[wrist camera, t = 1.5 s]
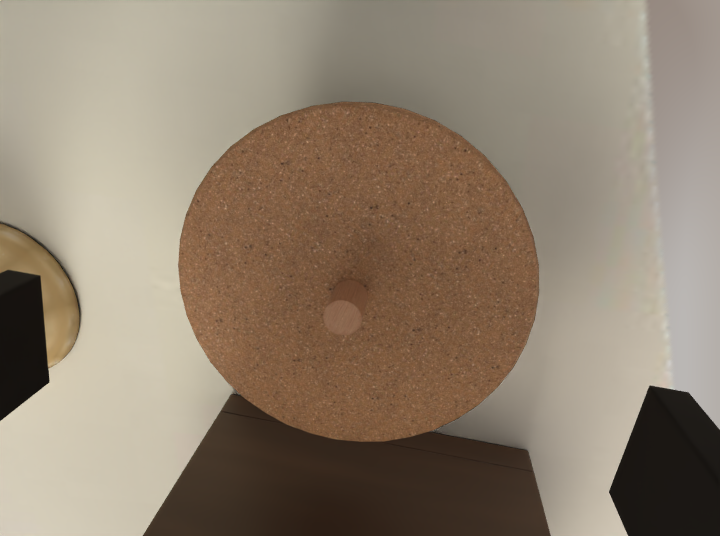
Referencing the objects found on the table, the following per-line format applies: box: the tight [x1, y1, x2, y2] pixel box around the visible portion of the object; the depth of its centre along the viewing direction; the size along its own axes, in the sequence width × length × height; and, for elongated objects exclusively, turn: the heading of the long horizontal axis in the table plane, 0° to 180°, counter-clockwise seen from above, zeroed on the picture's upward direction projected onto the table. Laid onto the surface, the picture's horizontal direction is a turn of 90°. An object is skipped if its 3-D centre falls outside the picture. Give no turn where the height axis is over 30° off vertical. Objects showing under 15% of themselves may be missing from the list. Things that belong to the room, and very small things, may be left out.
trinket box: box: [178, 102, 539, 442], centre depth 18 cm, size 11×11×9 cm
